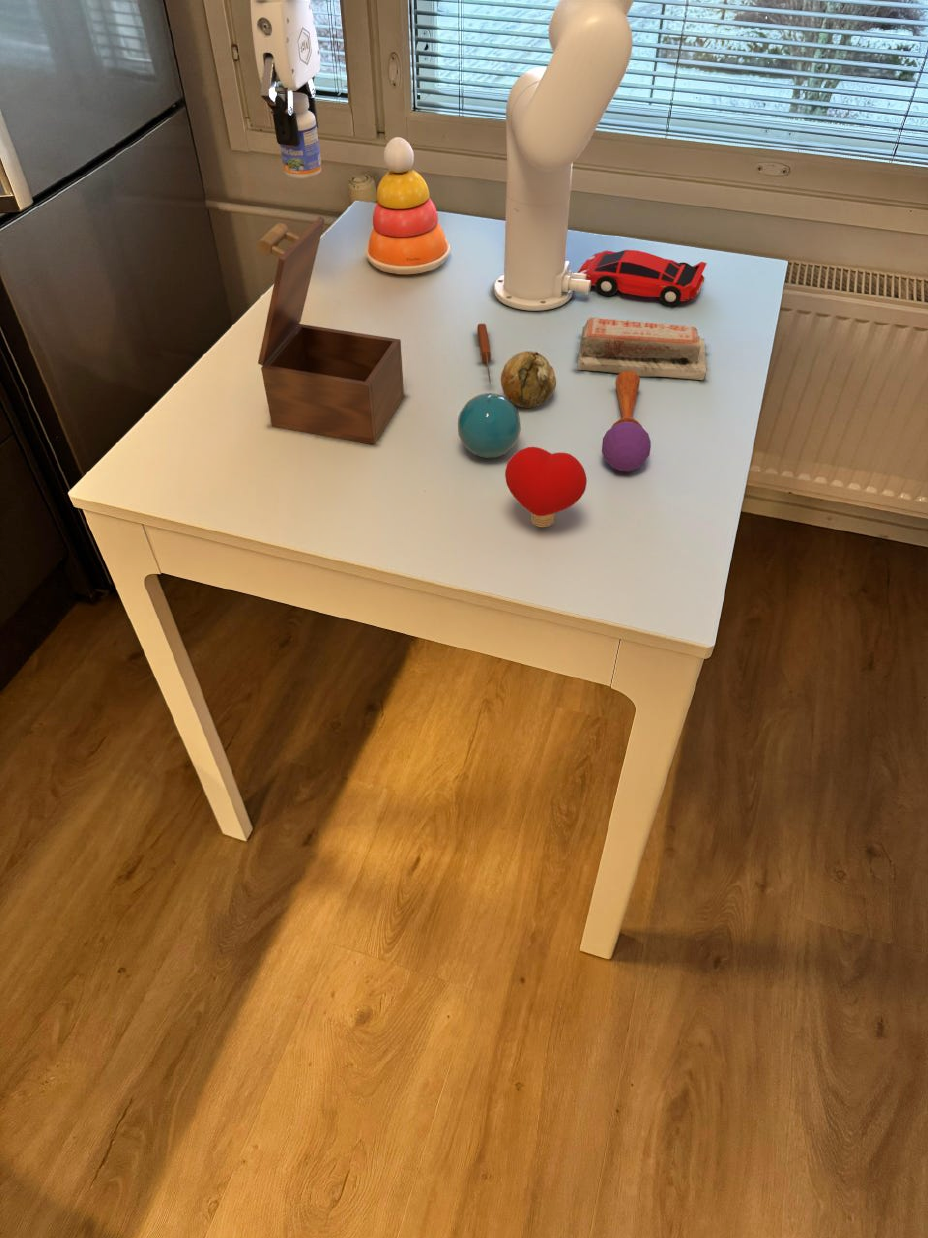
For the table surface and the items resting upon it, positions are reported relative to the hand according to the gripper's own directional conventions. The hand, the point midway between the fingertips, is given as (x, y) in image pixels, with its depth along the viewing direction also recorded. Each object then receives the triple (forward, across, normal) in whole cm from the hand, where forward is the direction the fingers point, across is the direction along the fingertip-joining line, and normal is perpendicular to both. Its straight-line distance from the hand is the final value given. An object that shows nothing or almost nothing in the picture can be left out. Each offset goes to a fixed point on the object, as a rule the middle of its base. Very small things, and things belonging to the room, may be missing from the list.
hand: (298, 134), depth 127 cm
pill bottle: (+5, 0, 0) cm, 5 cm away
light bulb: (+26, -42, -46) cm, 68 cm away
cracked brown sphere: (+26, -17, -38) cm, 49 cm away
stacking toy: (+25, +18, -8) cm, 32 cm away
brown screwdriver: (+26, -9, -30) cm, 40 cm away
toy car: (+26, +19, -47) cm, 57 cm away
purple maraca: (+26, -21, -52) cm, 62 cm away
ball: (+25, -30, -36) cm, 54 cm away
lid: (+9, -27, -10) cm, 30 cm away
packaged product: (+26, -2, -51) cm, 57 cm away
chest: (+25, -27, -14) cm, 40 cm away
